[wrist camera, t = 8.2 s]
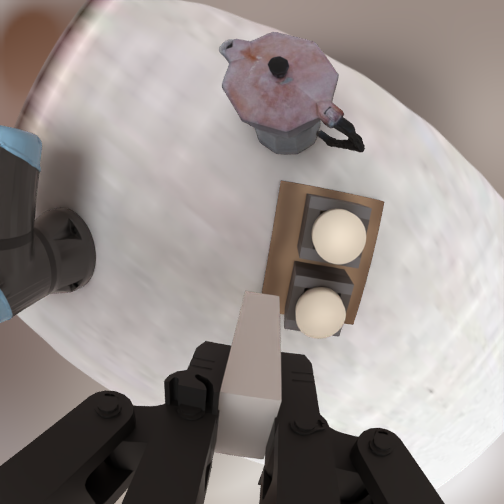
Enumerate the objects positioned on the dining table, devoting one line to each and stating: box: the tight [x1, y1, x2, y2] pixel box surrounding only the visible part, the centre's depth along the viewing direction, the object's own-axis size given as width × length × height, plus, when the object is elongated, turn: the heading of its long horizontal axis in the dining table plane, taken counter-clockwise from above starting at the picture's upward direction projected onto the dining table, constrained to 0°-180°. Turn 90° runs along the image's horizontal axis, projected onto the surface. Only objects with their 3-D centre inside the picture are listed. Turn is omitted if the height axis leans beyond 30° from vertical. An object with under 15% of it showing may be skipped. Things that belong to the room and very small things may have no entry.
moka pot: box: [219, 32, 365, 154], centre depth 27 cm, size 10×15×20 cm, turn 55°
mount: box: [262, 181, 384, 336], centre depth 37 cm, size 14×18×8 cm
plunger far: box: [295, 287, 346, 339], centre depth 35 cm, size 6×6×8 cm
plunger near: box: [312, 208, 366, 264], centre depth 33 cm, size 6×6×8 cm
